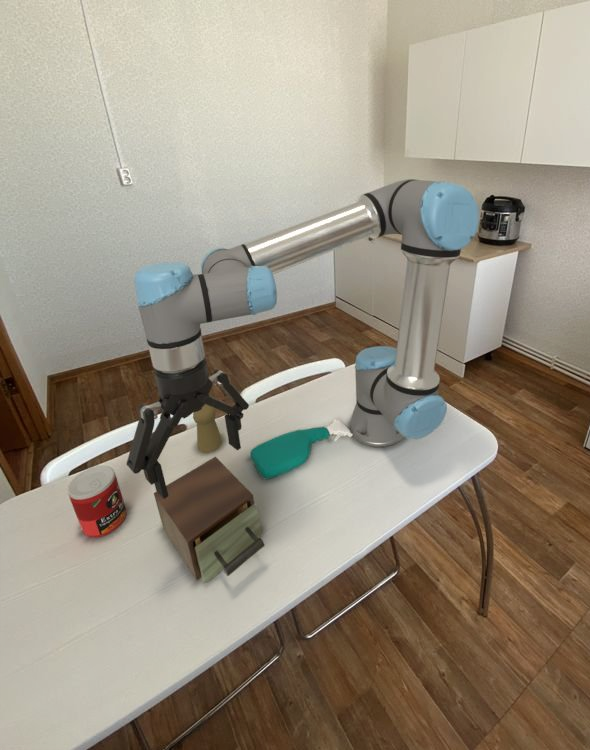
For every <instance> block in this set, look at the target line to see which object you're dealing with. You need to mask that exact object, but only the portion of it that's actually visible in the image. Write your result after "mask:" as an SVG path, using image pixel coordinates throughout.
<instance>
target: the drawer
mask: <svg viewBox="0 0 590 750" xmlns="http://www.w3.org/2000/svg"><path fill="white" fill-rule="evenodd" d="M262 537H263V535H262V529H261V523H260V515H259V508H258V506H257V505H256V504H255V503H254V504H253V505H252V506H250V507H249V508H248V506H247V503H246V504H245V505H243V506H242V507H240V508H239V509H238V510H236V511H235V512H234V513H232V514H231V515H229V516H228V517H227V518H225V519H224V520H222V521H221V522H220V523H218V524H217V525H216V526H214V527H213V528H211V529H210V530H209V531H207V532H206V533H205V534H203V535H202V536H200V537H199V538H198V539H196V540H195V541H193V546H194V550H195V554H196V558H197V562H198V564H199V568H200V572H201V576H202V577H201V580H202V581H203V583H204V584H207V583H208V582H209V581H210V580H212V579H213V578H214V577H215V576H217V575H218V574H219V573H220V572H221V571H223V572H224V574H225V575H226V576H227V577H229V576H230V575H232V574H233V573H234V572H235V571H236V570H238V569H239V568H240V567H241V566H243V565H244V564H245V563H246V562H247V561H248V560H250V559H251V558H253V556H254V555H255V554H256V553H258V552H259V551H260V550H261V549H263V548H264V547H265V542H264V540H263V538H262Z"/></svg>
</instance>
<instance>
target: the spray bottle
mask: <svg viewBox="0 0 590 750" xmlns="http://www.w3.org/2000/svg"><path fill="white" fill-rule="evenodd" d="M332 435H336V436H335V438H334V440H333V441H334V442H337V441H338V439H340V437H342V436H343V437H345V436H348V437H349V438H352V437H353V435H352V433H351V430H350V429H349V428H348V427H347V426H346V425H345V424H344V423H343V422H342V421H340V420H338V419H335V418H333V422H332V423H330V424H329V425H328V426H319V427H311V428H305V429H297V430H293V431H290V432H286V433H284V434H280V435H279V436H276V437H273V438H271V439H268V440H267V441H264V442H262V443H260V444H258V445H256V446H255V447H253V448H252V449H251V450H250V459H251V461H252V463H253V464H254V466H255V469H256V470H257V472H258V474H259V475H260V476H261V478H263V479H264V480H268V479H272V478H275V477H277V476H280V475H282V474H285V473H288V472H290V471H292V470H294V469H297V468H298V467H300V466H301V465H303V464H305V463H306V461H308V459H309V457H310V455H311V447H312V444H316V442H321V441H322V440H323V439H329V438H330V436H332Z"/></svg>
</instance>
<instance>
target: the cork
mask: <svg viewBox="0 0 590 750" xmlns="http://www.w3.org/2000/svg"><path fill="white" fill-rule="evenodd" d="M215 417H216V408H214V407H211V406H209V405H207V404H204V406H203V407H202V409H201V410H199V411H197V412H194V413H192V418H193V419H192V420H193V421H194V422H195V423H196V439H197V440H196V441H197V442H196V444H197V450H198V451H199V452H201V453H203V454H207V453H211V452H214V451H216V450H218V449H220V447H221V446H222V445H223V438H222V435H221V433H220V430H219V427H218V424H217V421H216V418H215Z"/></svg>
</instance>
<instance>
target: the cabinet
mask: <svg viewBox="0 0 590 750" xmlns="http://www.w3.org/2000/svg"><path fill="white" fill-rule="evenodd" d="M166 488H167V492H168V497H167V498H165V499H163V498H162V496H161V495H160V494H159V493H158V492H157V491H156V490H155V492H154V493H153V496H154V500H155V504H156V507H157V510H158V514H159V518H160V522H161V526H162V529H163V531H164V532H165V534H166V535H167V537H168V539H169V541H170V542H171V543H172V545H173V546H174V548H175V550H176V551H177V553H178V554H179V555H180V558H182V560H183V562H184V563H185V565H186V566H187V568H188V569H189V571H190V573H191V574H192V576H193V577H194V579H195V581H198V580H200V579H202V576H201V572H200V568H199V564H198V562H197V558H196V554H195V550H194V546H193V541H195V540H196V539H198V538H199V537H200V536H202V535H203V534H205V533H206V532H207V531H209V530H210V529H211V528H213V527H214V526H216V525H217V524H218V523H220V522H221V521H222V520H224V519H225V518H227V517H228V516H229V515H231V514H232V513H234V512H235V511H236V510H238V509H239V508H240V507H242V506H243V505H245V504H246V503H247V506H248V508H249V507H250V506H252V505H253V504H255V497H254V494H253V493H252V492H251V491H250V490H249V489H248V488H247V487H246V485H244V484H243V482H241V481H240V480H239V479H238V477H236V476H235V475H234V473H233V472H232V471H230V469H228V468H227V467H226V466H225V464H224V463H223V462H222V461H221V460H220V459H219V458H218V457H217V456H214V457H212V458H210V459H209V460H206V461H205V462H203V463H202V464H200V465H199V466H197V467H196V468H194V469H192V470H190V471H189V472H186V473H185V474H183V475H181V476H180V477H178V478H177V479H175V480H173V481H172V482H170V483H168V484H166Z"/></svg>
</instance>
